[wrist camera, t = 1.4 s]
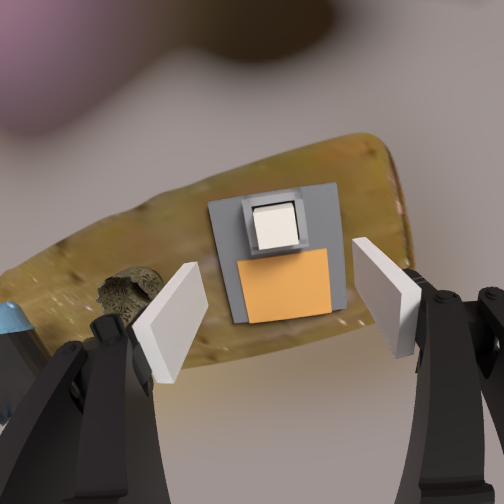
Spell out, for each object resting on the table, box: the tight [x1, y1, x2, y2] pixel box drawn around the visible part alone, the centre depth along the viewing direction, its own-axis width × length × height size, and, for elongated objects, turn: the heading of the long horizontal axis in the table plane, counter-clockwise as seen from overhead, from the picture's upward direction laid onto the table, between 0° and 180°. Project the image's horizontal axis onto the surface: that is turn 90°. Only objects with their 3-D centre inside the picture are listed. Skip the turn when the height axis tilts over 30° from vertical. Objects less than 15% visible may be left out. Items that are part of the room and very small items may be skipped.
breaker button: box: [253, 202, 299, 250], centre depth 27 cm, size 4×3×3 cm
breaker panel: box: [208, 182, 347, 323], centre depth 31 cm, size 14×15×4 cm
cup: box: [96, 267, 164, 328], centre depth 31 cm, size 8×7×8 cm
